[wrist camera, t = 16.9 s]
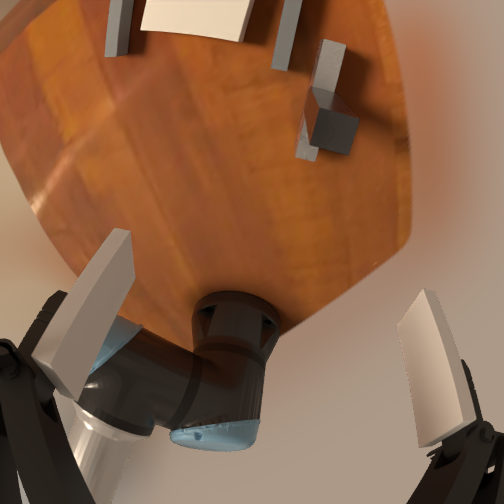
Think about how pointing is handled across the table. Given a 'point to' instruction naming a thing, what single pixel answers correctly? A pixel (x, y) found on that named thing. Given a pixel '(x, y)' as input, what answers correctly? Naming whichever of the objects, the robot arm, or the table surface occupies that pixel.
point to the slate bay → (122, 21)
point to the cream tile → (199, 17)
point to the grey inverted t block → (325, 108)
